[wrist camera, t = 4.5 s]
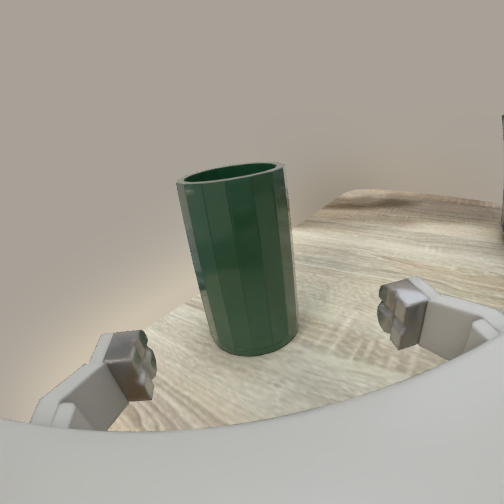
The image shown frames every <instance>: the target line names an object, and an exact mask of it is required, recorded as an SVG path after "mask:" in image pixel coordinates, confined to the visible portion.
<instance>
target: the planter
mask: <svg viewBox="0 0 504 504" xmlns="http://www.w3.org/2000/svg"><path fill="white" fill-rule="evenodd" d="M502 123H503V138H504V115H502ZM501 226H502V229H503V231H504V190H503V206H502V218H501Z"/></svg>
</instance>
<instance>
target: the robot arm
mask: <svg viewBox="0 0 504 504" xmlns="http://www.w3.org/2000/svg"><path fill="white" fill-rule="evenodd" d="M379 297H380V299H381V300H382V301H381V303H380V304H379V306H378V311H377V316H378V321H379V324H380V326H381V328H382V329H383V331H384V332H387V333H389V334H390V340H391V341H392V343H393V344H394V345H395V346H396V348H397V349H398V350H401V349H404V348H407V347H410V346H413V345H416V344H418V345H420V346H422V347H423V348H425V349H427V350H429V351H431V352H433V353H435V354H437V355H439V356H441V357H443V358H445V359H447V360H449V361H448V362H446V363H443V364H441V365H439V366H437V367H435V368H432V369H430V370H428V371H426V372H423V373H421V374H418V375H416V376H414V377H411V378H409V379H406V380H403V381H401V382H398V383H396V384H393V385H390V386H387V387H385V388H382V389H379V390H376V391H373V392H370V393H367V394H364V395H361V396H358V397H354V398H351V399H348V400H344V401H341V402H337V403H334V404H330V405H327V406H323V407H319V408H315V409H311V410H307V411H303V412H299V413H294V414H290V415H285V416H280V417H275V418H270V419H264V420H259V421H253V422H247V423H240V424H233V425H226V426H218V427H209V428H199V429H187V430H172V431H145V432H121V431H107V430H108V429H109V427H110V426H111V425H112V424H113V422H114V421H115V420H116V419H117V417H118V416H119V415H120V414H121V412H122V411H123V410H124V409H125V407H126V406H127V405H128V404H129V402H131V401H145V400H152V396H153V390H154V384H153V382H152V379H153V378H154V377H155V376H156V371H157V366H156V359H155V355H154V353H153V351H152V349H150V348H149V347H148V346H147V341H148V339H147V337H146V334H145V332H144V331H142V330H136V331H126V332H116V333H105V334H102V335H101V336H100V338H99V341H98V343H97V345H96V347H95V350H94V352H93V354H92V356H91V359H90V361H89V363H88V364H84V365H83V366H81V367H80V368H79V369H78V370H77V371H75V372H74V373H73V374H71V375H70V376H69V377H67V378H66V379H65V380H64V381H62V382H61V383H60V384H59V385H57V386H56V387H55V388H54V389H52V390H51V391H50V392H49V393H47V394H46V395H45V396H44V397H42V398H41V399H40V400H39V402H38V404H37V406H36V409H35V411H34V413H33V415H32V418H31V420H30V422H29V423H24V422H19V421H13V420H9V419H4V418H0V504H504V314H503V313H501V312H500V311H499V310H498V309H495V308H491V307H488V306H484V305H480V304H477V303H473V302H470V301H466V300H462V299H459V298H455V297H452V296H448V295H443V296H442V295H441V294H440V293H438V292H437V291H436V290H435V289H434V288H432V287H431V286H430V285H429V284H428V283H426V282H425V281H424V280H423V279H422V278H420V277H419V276H413V277H409V278H406V279H404V280H400V281H397V282H393V283H389V284H386V285H382V286H381V287H380V290H379Z"/></svg>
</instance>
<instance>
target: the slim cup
mask: <svg viewBox="0 0 504 504" xmlns="http://www.w3.org/2000/svg"><path fill="white" fill-rule="evenodd" d="M176 185H177V190H178V195H179V200H180V205H181V210H182V215H183V219H184V224H185V229H186V234H187V238H188V243H189V247H190V252H191V256H192V260H193V265H194V269H195V273H196V277H197V281H198V285H199V289H200V293H201V297H202V301H203V305H204V309H205V313H206V317H207V320H208V324H209V328H210V332H211V335H212V337H213V340H214V342H215V343H216V344H217V345H218V346H219V347H220V348H221V349H223V350H224V351H226V352H228V353H231V354H235V355H240V356H257V355H263V354H267V353H270V352H273V351H275V350H278V349H280V348H281V347H283V346H284V345H286V344H287V343H288V342H290V341H291V339H292V338H293V337H294V336H295V334H296V332H297V329H298V303H297V289H296V275H295V263H294V251H293V239H292V228H291V218H290V209H289V199H288V189H287V179H286V170H285V165H284V164H282V163H278V162H255V163H254V162H253V163H244V164H235V165H228V166H223V167H217V168H212V169H208V170H204V171H200V172H196V173H193V174H190V175H187V176H184V177H182V178H181V179H178V180H177V183H176Z"/></svg>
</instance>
